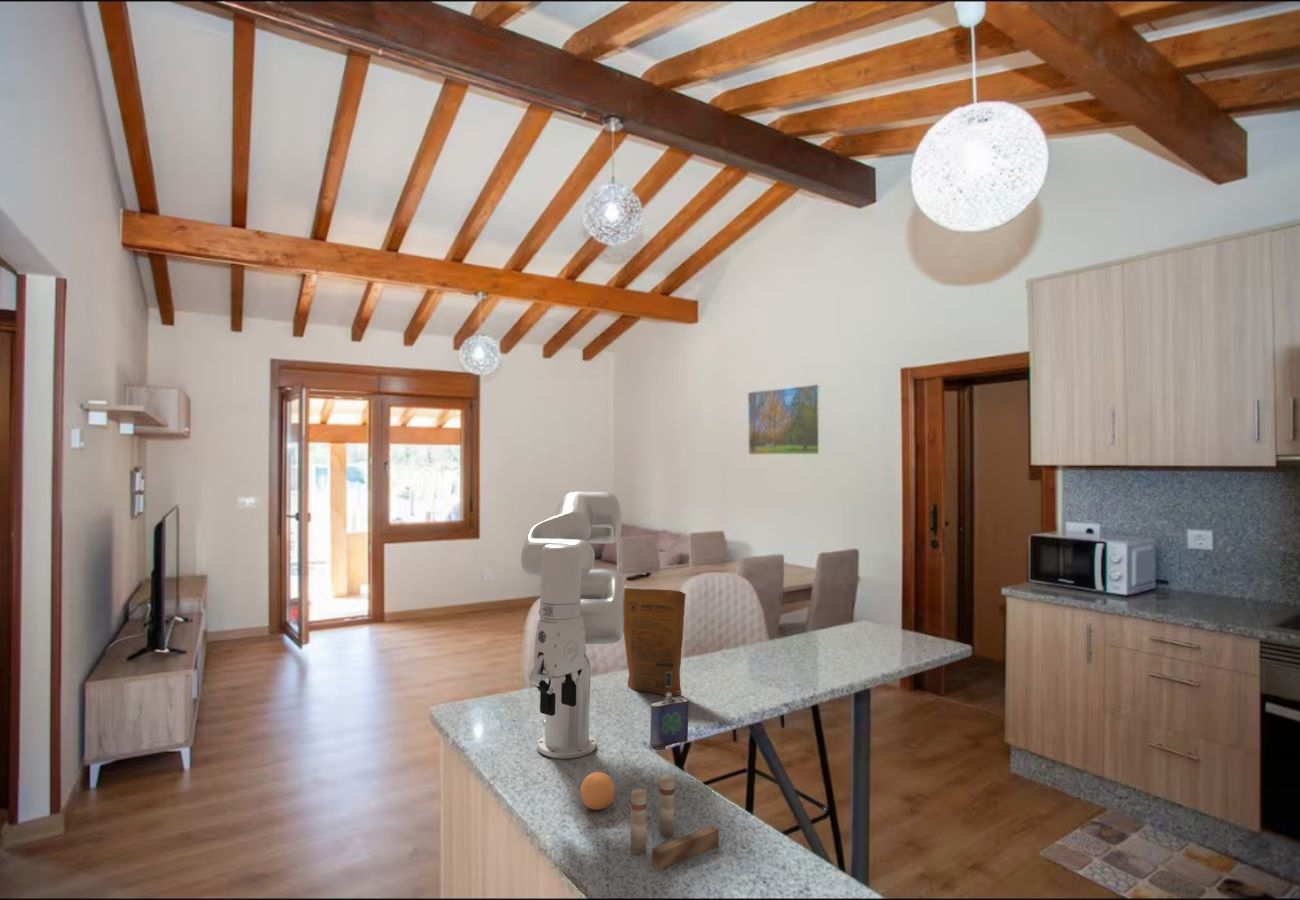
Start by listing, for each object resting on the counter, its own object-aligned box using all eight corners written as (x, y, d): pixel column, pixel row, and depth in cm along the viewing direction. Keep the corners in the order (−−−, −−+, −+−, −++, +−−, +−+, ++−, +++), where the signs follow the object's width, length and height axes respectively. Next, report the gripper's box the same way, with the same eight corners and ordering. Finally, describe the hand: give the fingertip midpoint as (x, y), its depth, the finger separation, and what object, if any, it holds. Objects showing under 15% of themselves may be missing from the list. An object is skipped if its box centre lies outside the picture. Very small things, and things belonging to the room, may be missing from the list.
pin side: (627, 849, 105) (628, 791, 105) (640, 844, 107) (641, 787, 107) (635, 856, 103) (636, 797, 103) (649, 851, 105) (650, 793, 105)
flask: (653, 748, 144) (654, 698, 144) (647, 743, 146) (648, 694, 147) (690, 741, 148) (691, 692, 148) (683, 736, 151) (684, 688, 151)
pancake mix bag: (679, 700, 174) (680, 593, 175) (615, 689, 183) (617, 586, 184) (689, 693, 180) (690, 589, 181) (627, 682, 189) (629, 583, 190)
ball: (573, 805, 119) (574, 771, 119) (602, 796, 122) (603, 763, 122) (591, 820, 114) (591, 784, 114) (620, 810, 117) (621, 775, 117)
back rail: (657, 870, 100) (658, 853, 100) (651, 865, 101) (652, 848, 101) (718, 845, 107) (718, 829, 107) (712, 841, 108) (712, 825, 108)
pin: (655, 832, 110) (656, 777, 111) (667, 827, 112) (668, 773, 112) (664, 839, 108) (665, 782, 108) (677, 834, 110) (677, 779, 110)
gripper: (543, 621, 115) (541, 728, 115) (604, 606, 129) (602, 700, 129) (512, 615, 119) (510, 718, 119) (574, 601, 134) (572, 693, 133)
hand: (558, 708), depth 124 cm, fingers open, 5 cm apart
